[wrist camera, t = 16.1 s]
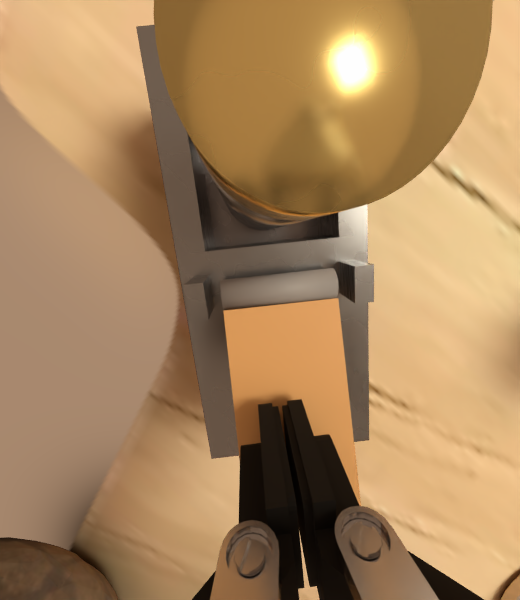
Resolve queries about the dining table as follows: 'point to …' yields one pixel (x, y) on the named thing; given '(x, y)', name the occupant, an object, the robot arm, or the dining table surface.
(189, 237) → the block
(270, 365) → the keeper flap
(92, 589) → the vessel
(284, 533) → the robot arm
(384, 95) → the jar with gold lid
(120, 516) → the dining table surface
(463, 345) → the dining table surface
